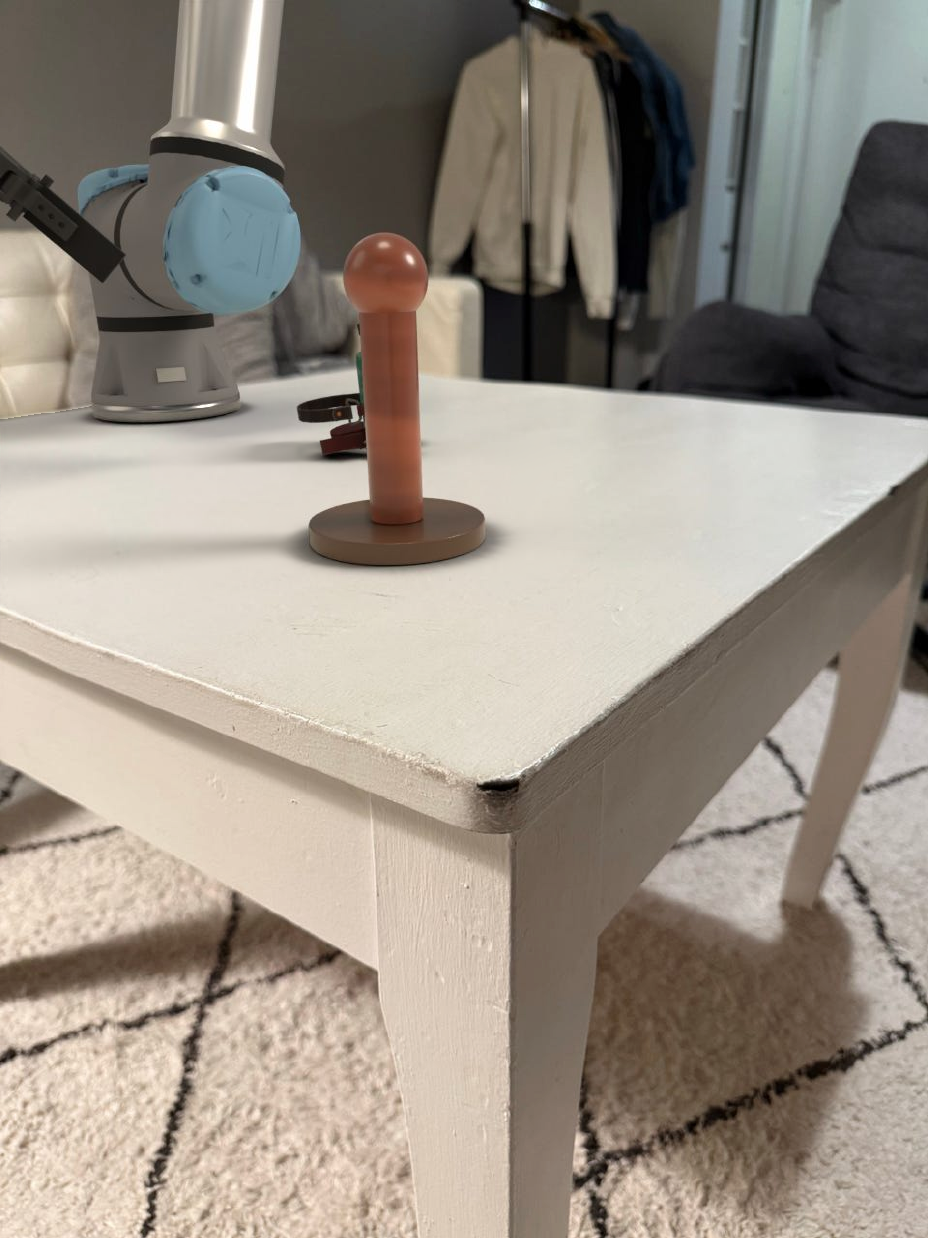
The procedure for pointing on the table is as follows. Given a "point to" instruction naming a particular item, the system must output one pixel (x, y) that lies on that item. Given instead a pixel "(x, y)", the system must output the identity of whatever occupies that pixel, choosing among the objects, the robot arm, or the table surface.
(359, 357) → the binoculars
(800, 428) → the table surface
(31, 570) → the table surface
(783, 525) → the table surface
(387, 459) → the marker post
